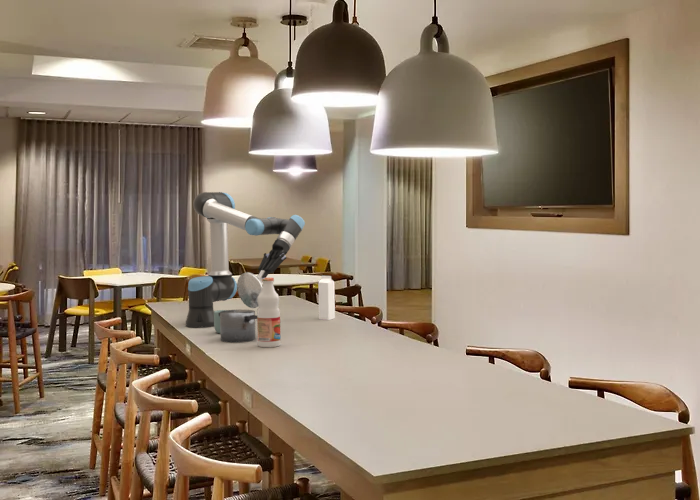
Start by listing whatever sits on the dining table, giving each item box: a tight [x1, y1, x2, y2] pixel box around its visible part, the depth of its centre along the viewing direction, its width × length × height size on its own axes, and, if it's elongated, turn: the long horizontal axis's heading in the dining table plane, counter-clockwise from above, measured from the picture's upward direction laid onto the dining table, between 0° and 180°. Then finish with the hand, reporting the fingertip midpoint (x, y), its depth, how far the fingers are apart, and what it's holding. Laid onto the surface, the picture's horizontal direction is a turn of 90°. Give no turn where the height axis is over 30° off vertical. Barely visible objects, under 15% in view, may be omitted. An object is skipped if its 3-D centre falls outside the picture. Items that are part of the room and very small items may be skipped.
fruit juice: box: [256, 277, 282, 348], centre depth 315 cm, size 9×9×28 cm
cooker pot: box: [219, 309, 257, 343], centre depth 332 cm, size 15×20×12 cm
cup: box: [213, 309, 227, 334], centre depth 350 cm, size 8×8×10 cm
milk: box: [317, 275, 336, 321], centre depth 388 cm, size 6×6×22 cm
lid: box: [236, 271, 263, 309], centre depth 338 cm, size 16×16×3 cm
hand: (257, 283), depth 338 cm, fingers closed, pressing on lid
